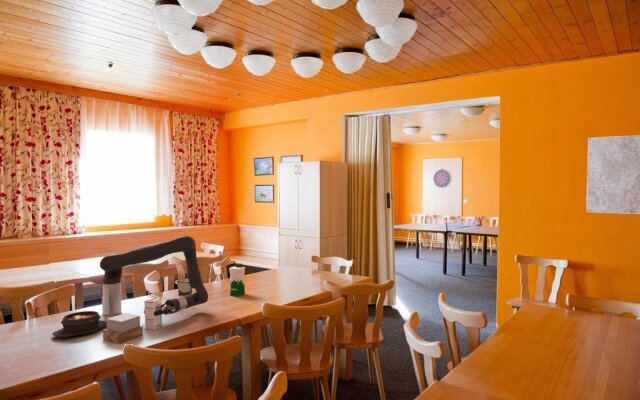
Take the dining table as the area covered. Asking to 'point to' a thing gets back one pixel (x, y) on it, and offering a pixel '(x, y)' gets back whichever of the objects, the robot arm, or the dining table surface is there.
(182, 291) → the food container
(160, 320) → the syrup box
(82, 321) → the casserole
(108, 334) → the walnut base block
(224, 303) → the dining table surface
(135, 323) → the white square block
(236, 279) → the milk carton
